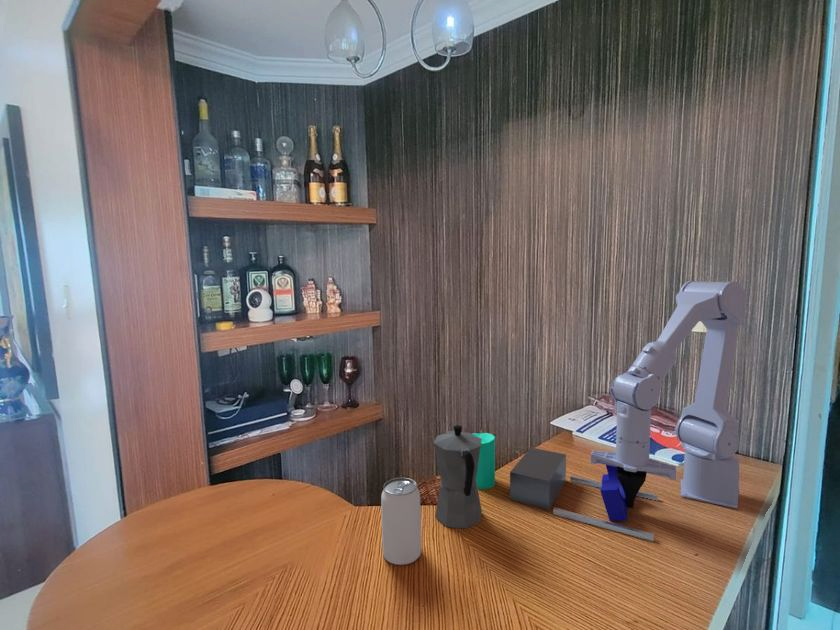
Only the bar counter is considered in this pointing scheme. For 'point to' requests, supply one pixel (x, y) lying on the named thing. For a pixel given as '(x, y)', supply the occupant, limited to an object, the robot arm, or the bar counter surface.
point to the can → (401, 521)
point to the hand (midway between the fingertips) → (630, 505)
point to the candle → (486, 461)
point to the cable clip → (613, 495)
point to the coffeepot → (458, 478)
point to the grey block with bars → (557, 488)
